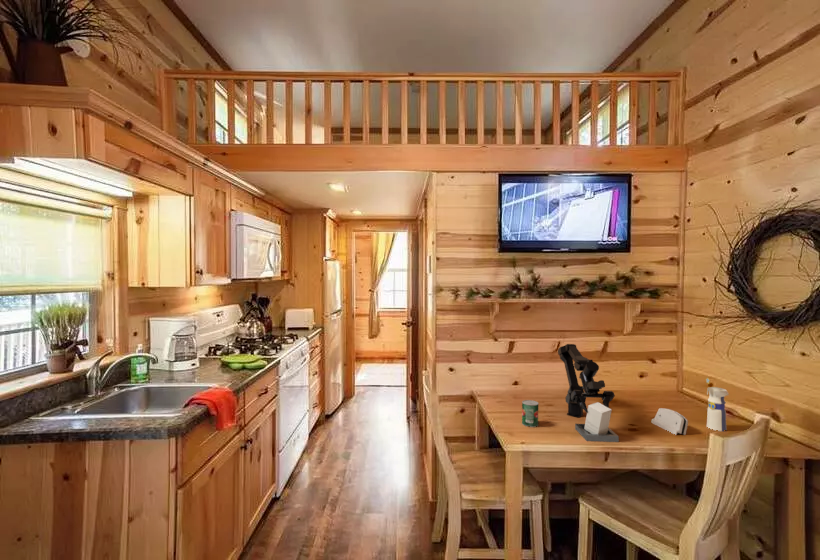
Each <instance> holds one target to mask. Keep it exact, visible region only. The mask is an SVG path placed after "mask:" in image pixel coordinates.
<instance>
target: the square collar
mask: <svg viewBox="0 0 820 560" xmlns="http://www.w3.org/2000/svg"><path fill="white" fill-rule="evenodd" d="M584 428H585V423H575V425H574V430H575V431H577V432H578V434H579V435H580V436H581V437H582V438H583V439H584V440H585V441H586V442H606V443H611V442H612V443H619V441H620V440H619V435H618V434H617V433H616V432H614V431H613V430H612V429H611V428H609V427H608V432H607V434H591V433H590V432H588V431H587V430H585V429H584Z"/></svg>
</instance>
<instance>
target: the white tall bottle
mask: <svg viewBox="0 0 820 560" xmlns="http://www.w3.org/2000/svg"><path fill="white" fill-rule="evenodd" d="M705 381H706V382H705V383H706V384H708V385H710V382H711V380H710V378H709V377H707V378H705ZM708 394H709V396H708ZM729 394H730V393H729V392H728V390H727V389H725V388H722V387H718V386H711V387H707V391H706V395H707V396H708V398H707V401H708V402H707V406H708V407H707V409H706V411H707V414H706V415H707V417H706V428H707V427H708V428H707V429H709V428H710V430H712V429H713V430H712V431H716V430H718V431H717V432H725V431H724V430H726V431H727V411H726V403H727V402H726V400H725V397H726V396H727V397H728V396H729Z"/></svg>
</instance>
